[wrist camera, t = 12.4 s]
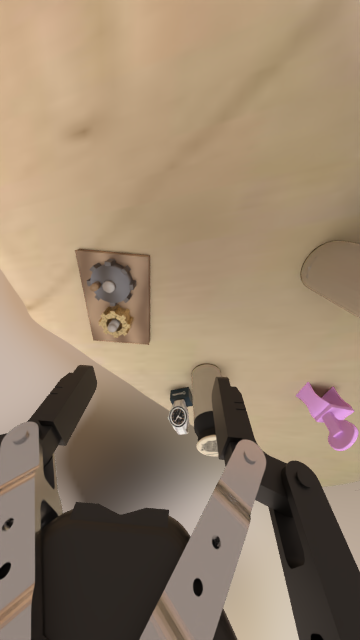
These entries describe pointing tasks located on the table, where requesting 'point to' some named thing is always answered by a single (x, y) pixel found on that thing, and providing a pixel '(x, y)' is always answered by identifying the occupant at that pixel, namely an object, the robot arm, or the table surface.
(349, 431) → the toy chair
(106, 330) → the brass gear
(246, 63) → the table surface
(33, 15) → the table surface
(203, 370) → the travel mug
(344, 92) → the table surface
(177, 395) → the watch
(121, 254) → the gear board
